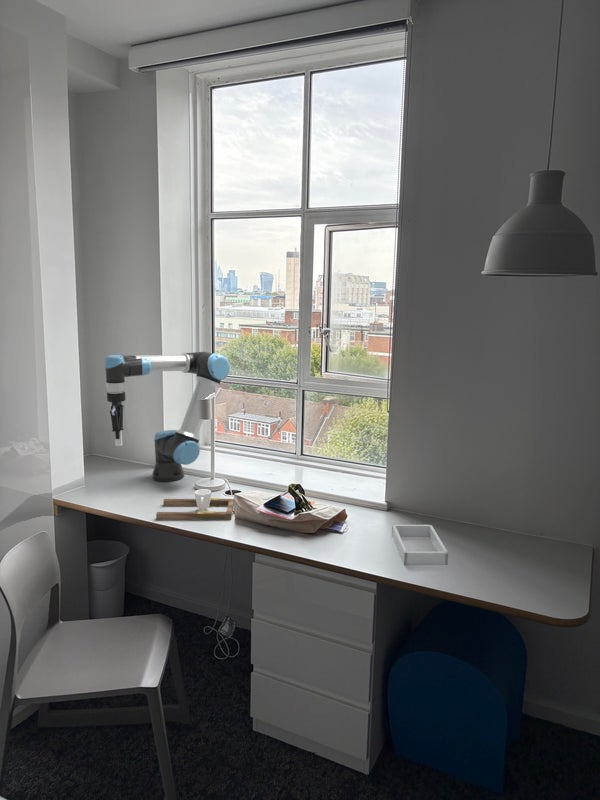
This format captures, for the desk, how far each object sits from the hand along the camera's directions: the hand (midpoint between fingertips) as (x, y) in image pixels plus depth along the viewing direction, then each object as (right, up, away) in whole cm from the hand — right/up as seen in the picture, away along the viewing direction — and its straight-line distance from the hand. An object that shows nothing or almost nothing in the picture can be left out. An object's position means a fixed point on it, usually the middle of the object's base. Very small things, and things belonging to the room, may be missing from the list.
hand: (118, 445), depth 264 cm
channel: (+34, -27, -9) cm, 44 cm away
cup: (+38, -27, -8) cm, 47 cm away
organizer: (+121, -35, -43) cm, 133 cm away
